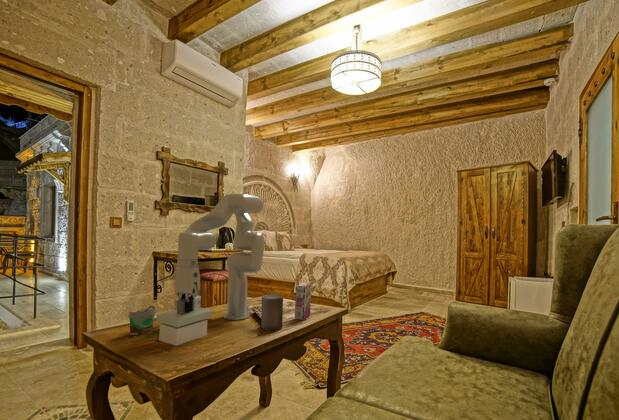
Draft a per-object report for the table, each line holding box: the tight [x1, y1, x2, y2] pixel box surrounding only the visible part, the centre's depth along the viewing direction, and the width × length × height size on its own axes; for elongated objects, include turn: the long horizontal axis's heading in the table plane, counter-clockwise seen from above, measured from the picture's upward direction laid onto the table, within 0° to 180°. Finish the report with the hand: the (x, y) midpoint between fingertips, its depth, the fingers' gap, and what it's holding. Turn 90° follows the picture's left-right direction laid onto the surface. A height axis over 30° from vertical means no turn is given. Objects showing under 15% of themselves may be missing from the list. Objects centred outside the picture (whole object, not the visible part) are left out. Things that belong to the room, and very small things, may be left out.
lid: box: [156, 299, 214, 327], centre depth 123 cm, size 16×12×8 cm
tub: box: [158, 318, 208, 347], centre depth 123 cm, size 14×10×7 cm
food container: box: [128, 305, 157, 336], centre depth 129 cm, size 12×6×10 cm, turn 168°
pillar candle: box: [260, 293, 284, 331], centre depth 142 cm, size 10×10×15 cm
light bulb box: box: [174, 295, 202, 310], centre depth 149 cm, size 11×7×11 cm, turn 162°
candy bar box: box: [294, 282, 312, 321], centre depth 160 cm, size 11×5×16 cm, turn 162°
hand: (185, 310), depth 123 cm, fingers closed on lid, 2 cm apart
